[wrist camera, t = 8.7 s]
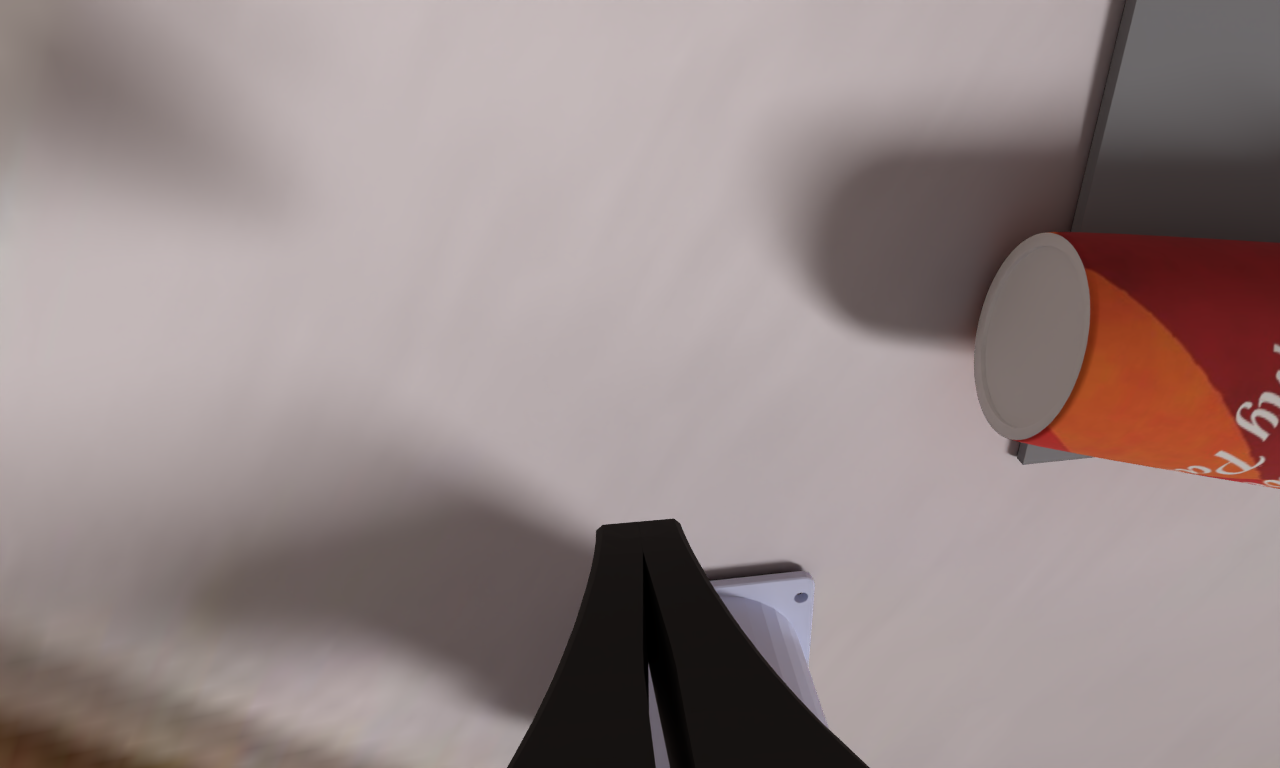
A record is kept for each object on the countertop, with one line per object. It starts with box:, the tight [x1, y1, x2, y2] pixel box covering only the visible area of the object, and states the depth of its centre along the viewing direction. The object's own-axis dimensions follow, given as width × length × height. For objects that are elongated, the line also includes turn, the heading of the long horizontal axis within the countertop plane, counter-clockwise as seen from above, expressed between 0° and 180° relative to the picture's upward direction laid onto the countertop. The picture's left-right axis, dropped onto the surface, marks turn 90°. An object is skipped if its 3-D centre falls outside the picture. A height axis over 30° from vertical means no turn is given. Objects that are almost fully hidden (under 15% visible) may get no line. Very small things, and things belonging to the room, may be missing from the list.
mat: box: [1017, 0, 1280, 465], centre depth 22 cm, size 16×11×1 cm
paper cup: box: [974, 232, 1280, 489], centre depth 20 cm, size 8×8×14 cm
